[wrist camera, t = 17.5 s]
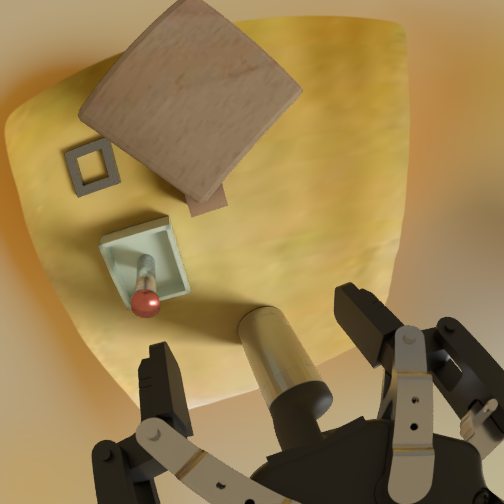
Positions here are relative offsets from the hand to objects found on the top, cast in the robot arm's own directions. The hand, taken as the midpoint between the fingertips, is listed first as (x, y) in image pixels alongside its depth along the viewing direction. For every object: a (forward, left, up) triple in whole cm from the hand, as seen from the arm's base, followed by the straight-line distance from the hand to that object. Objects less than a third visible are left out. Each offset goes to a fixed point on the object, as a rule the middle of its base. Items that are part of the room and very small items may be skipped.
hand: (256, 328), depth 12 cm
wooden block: (+10, 0, -28) cm, 30 cm away
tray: (-10, +9, -28) cm, 31 cm away
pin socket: (+5, +12, -28) cm, 31 cm away
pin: (-10, +9, -27) cm, 30 cm away
